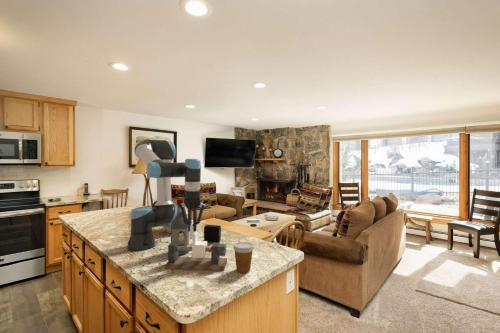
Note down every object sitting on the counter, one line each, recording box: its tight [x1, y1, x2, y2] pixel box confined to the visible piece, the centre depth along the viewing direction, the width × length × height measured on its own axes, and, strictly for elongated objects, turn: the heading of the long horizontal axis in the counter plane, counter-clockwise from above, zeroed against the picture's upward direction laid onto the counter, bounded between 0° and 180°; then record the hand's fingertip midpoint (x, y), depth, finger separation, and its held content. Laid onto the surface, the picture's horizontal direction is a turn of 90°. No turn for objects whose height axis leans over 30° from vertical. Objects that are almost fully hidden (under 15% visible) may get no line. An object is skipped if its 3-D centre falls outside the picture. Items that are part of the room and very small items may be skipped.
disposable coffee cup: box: [233, 241, 254, 274], centre depth 116 cm, size 10×10×12 cm
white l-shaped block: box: [191, 230, 208, 258], centre depth 121 cm, size 6×6×11 cm
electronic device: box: [203, 224, 222, 244], centre depth 158 cm, size 4×10×10 cm, turn 78°
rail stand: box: [165, 241, 228, 272], centre depth 121 cm, size 28×10×10 cm, turn 87°
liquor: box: [170, 198, 190, 257], centre depth 138 cm, size 9×9×30 cm
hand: (192, 238), depth 121 cm, fingers closed
